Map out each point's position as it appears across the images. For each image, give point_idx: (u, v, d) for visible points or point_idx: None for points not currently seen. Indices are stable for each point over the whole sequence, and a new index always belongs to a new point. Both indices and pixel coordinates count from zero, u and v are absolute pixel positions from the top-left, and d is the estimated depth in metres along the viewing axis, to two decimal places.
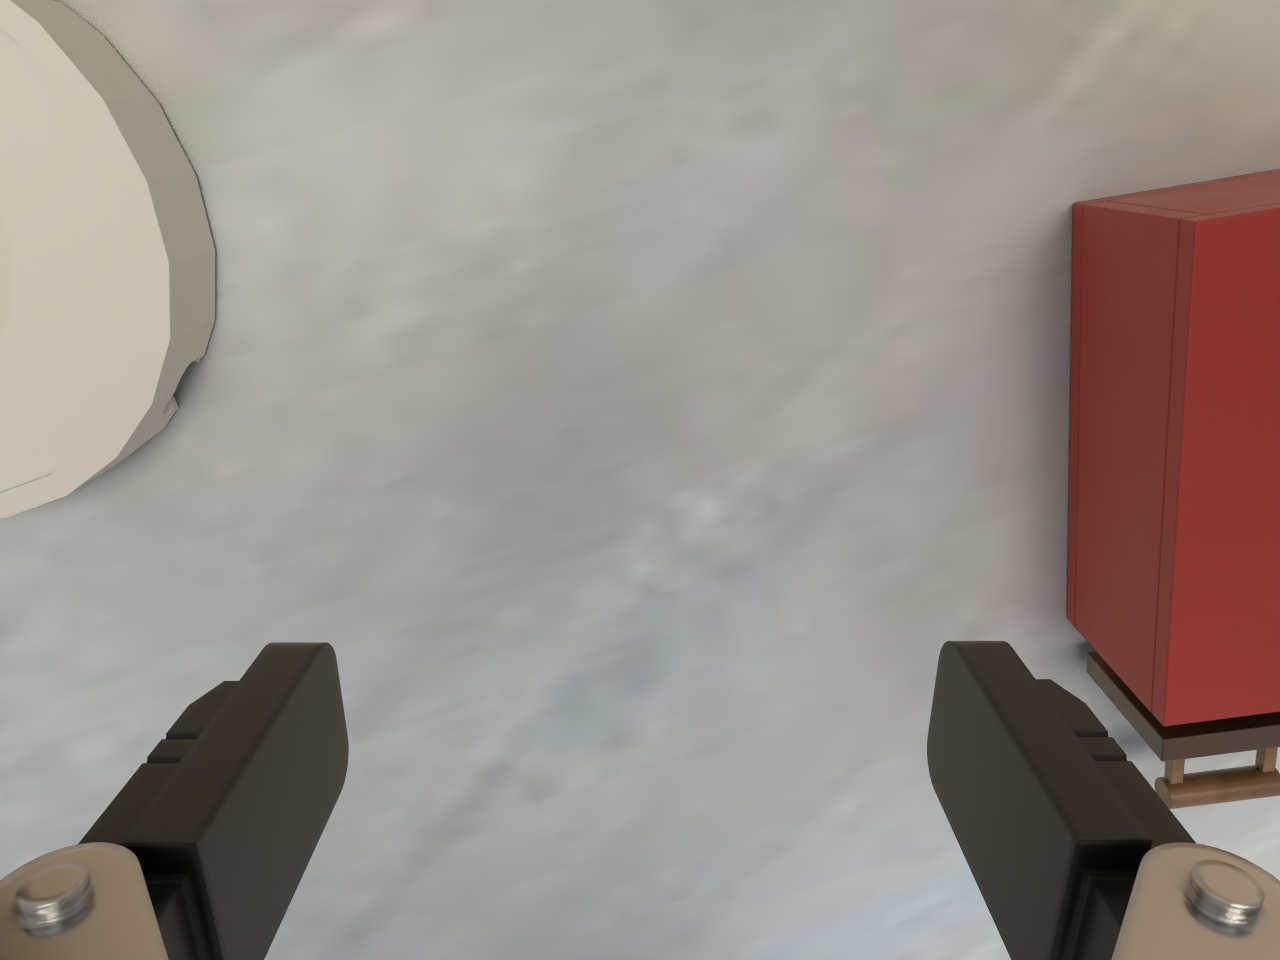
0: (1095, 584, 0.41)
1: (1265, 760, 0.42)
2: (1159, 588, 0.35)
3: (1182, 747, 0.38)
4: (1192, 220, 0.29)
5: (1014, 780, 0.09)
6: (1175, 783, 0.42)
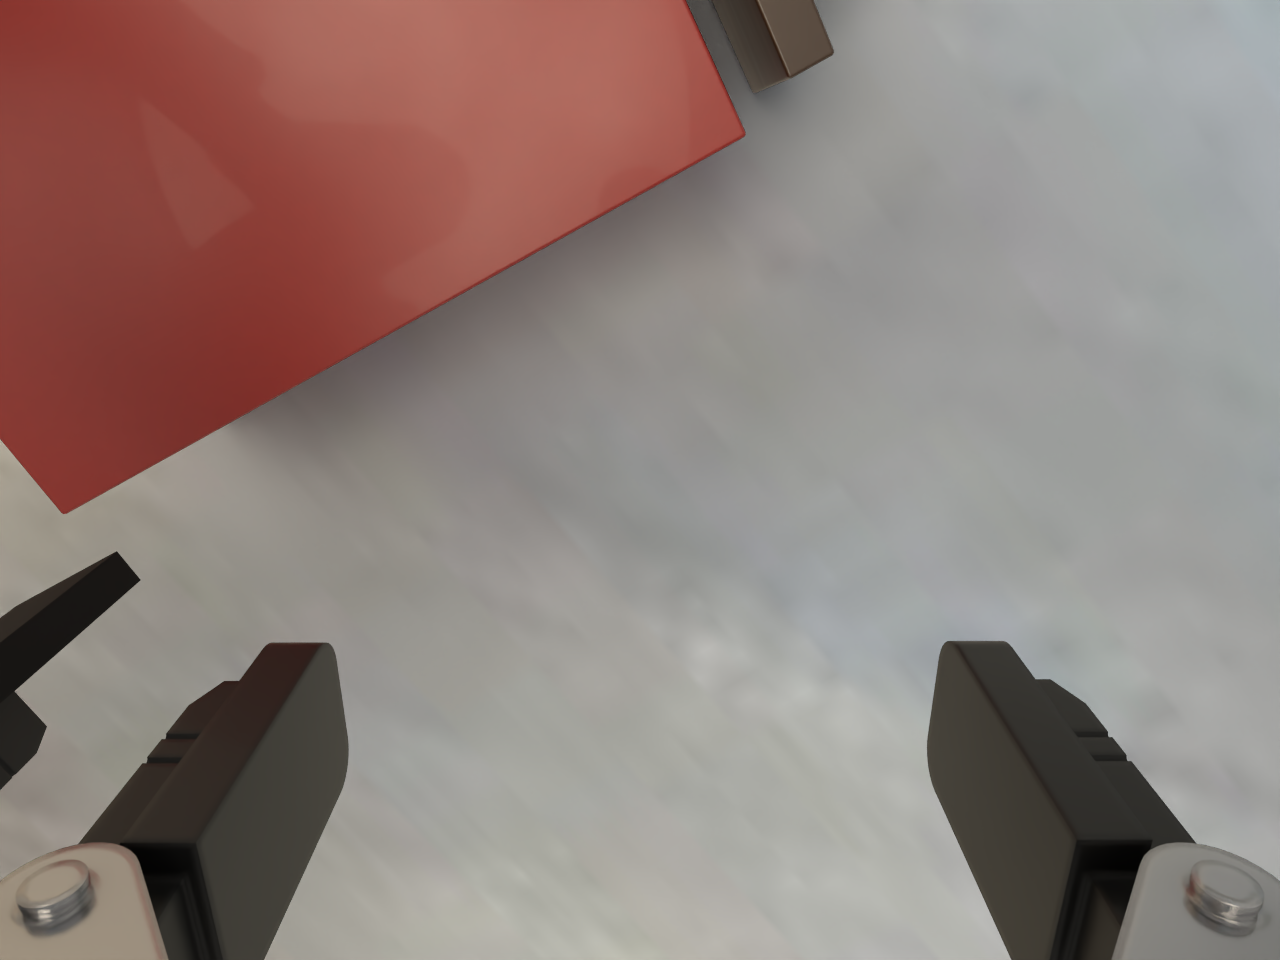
0: None
1: None
2: None
3: (795, 32, 0.20)
4: None
5: (1014, 780, 0.09)
6: None
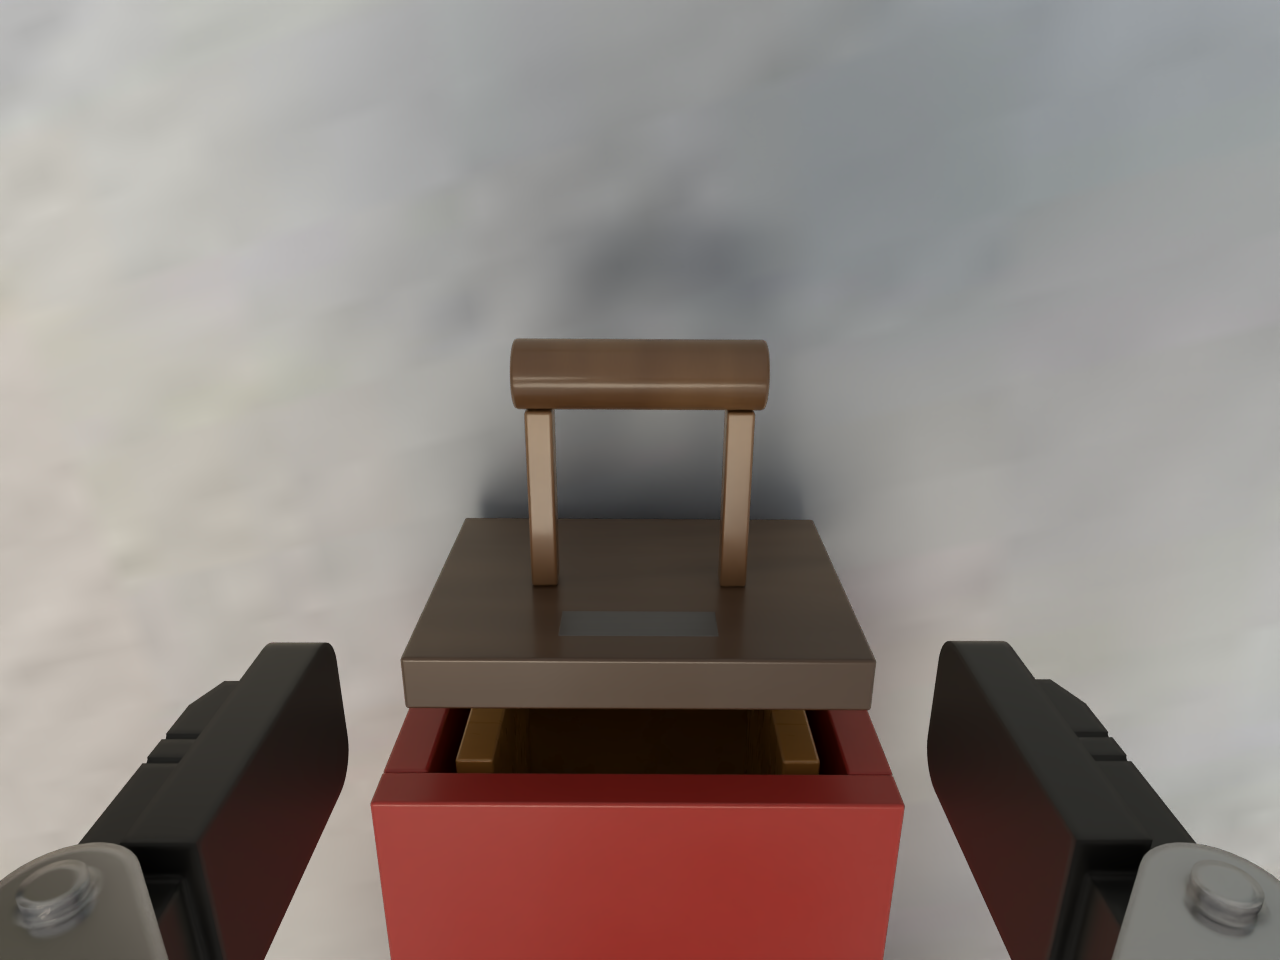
0: None
1: (547, 441, 0.19)
2: None
3: (831, 689, 0.18)
4: None
5: (1014, 780, 0.09)
6: (744, 415, 0.19)
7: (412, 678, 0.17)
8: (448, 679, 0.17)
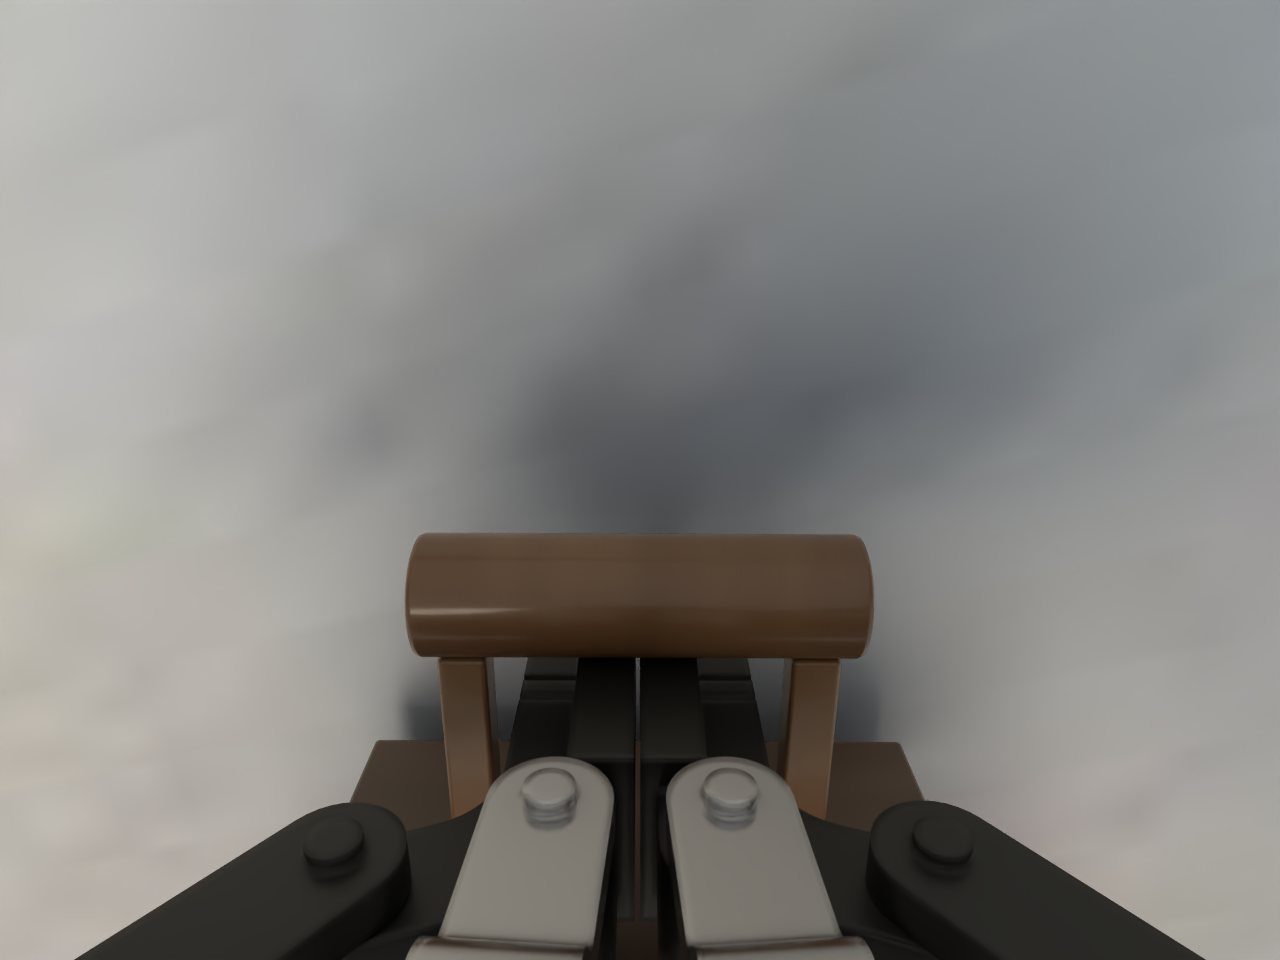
0: None
1: (479, 706, 0.11)
2: None
3: None
4: None
5: None
6: (823, 666, 0.11)
7: None
8: None
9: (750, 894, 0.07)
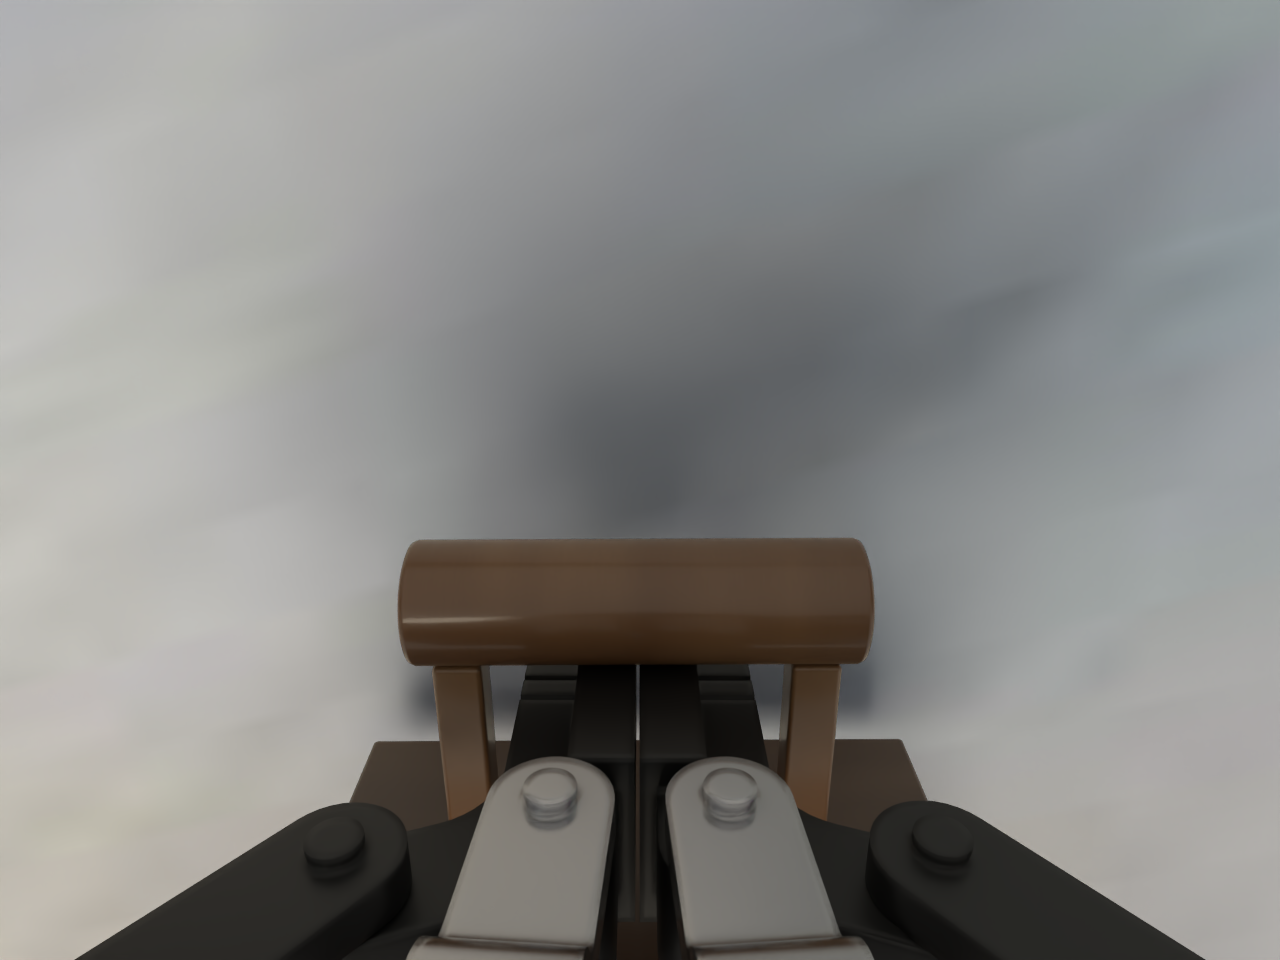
0: None
1: (475, 713, 0.11)
2: None
3: None
4: None
5: None
6: (823, 671, 0.10)
7: None
8: None
9: (749, 893, 0.07)
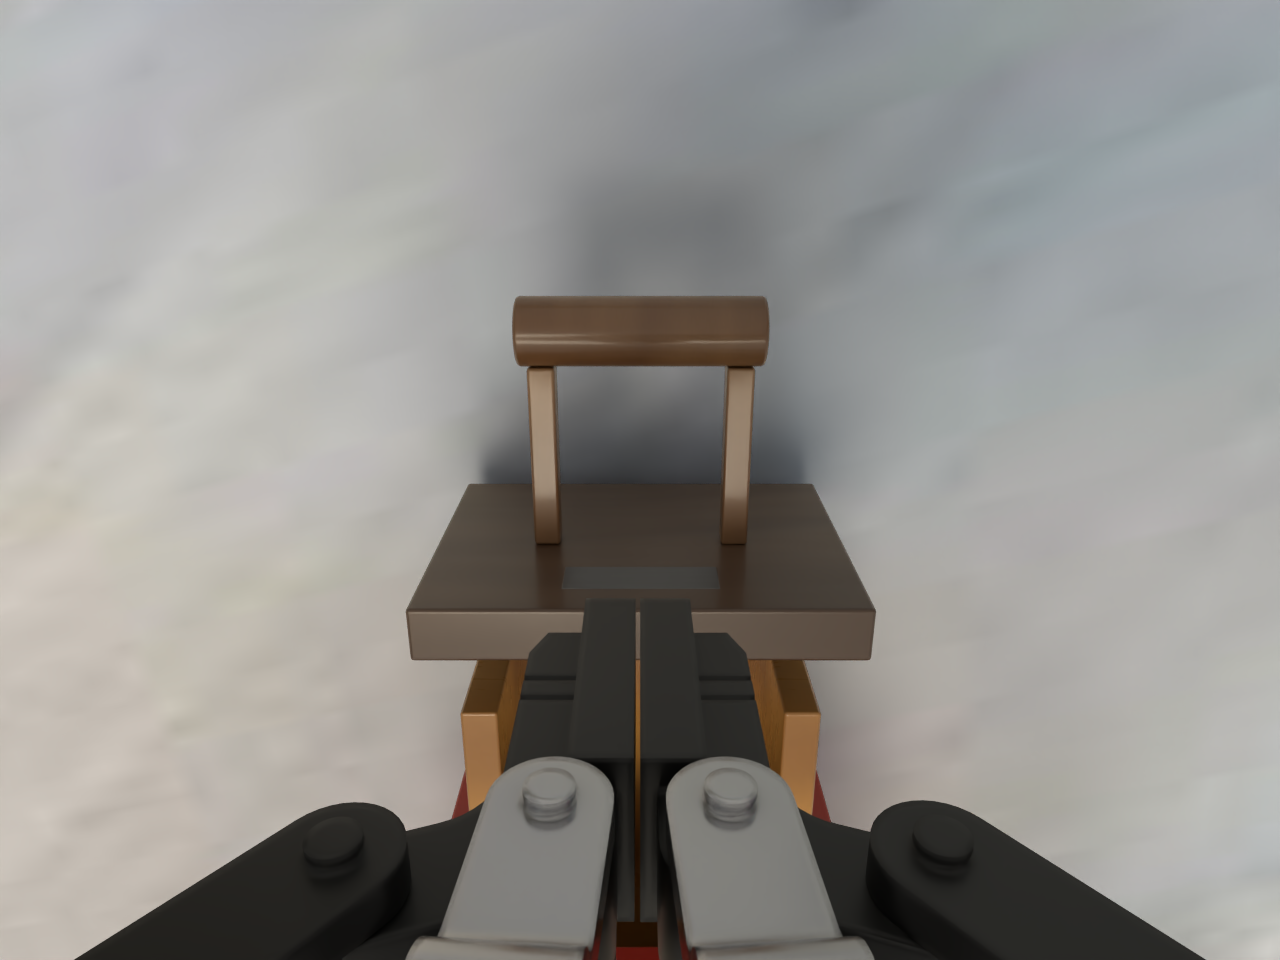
0: None
1: (550, 399, 0.19)
2: None
3: (832, 638, 0.18)
4: None
5: None
6: (744, 371, 0.19)
7: (417, 630, 0.18)
8: (453, 630, 0.18)
9: (750, 894, 0.07)
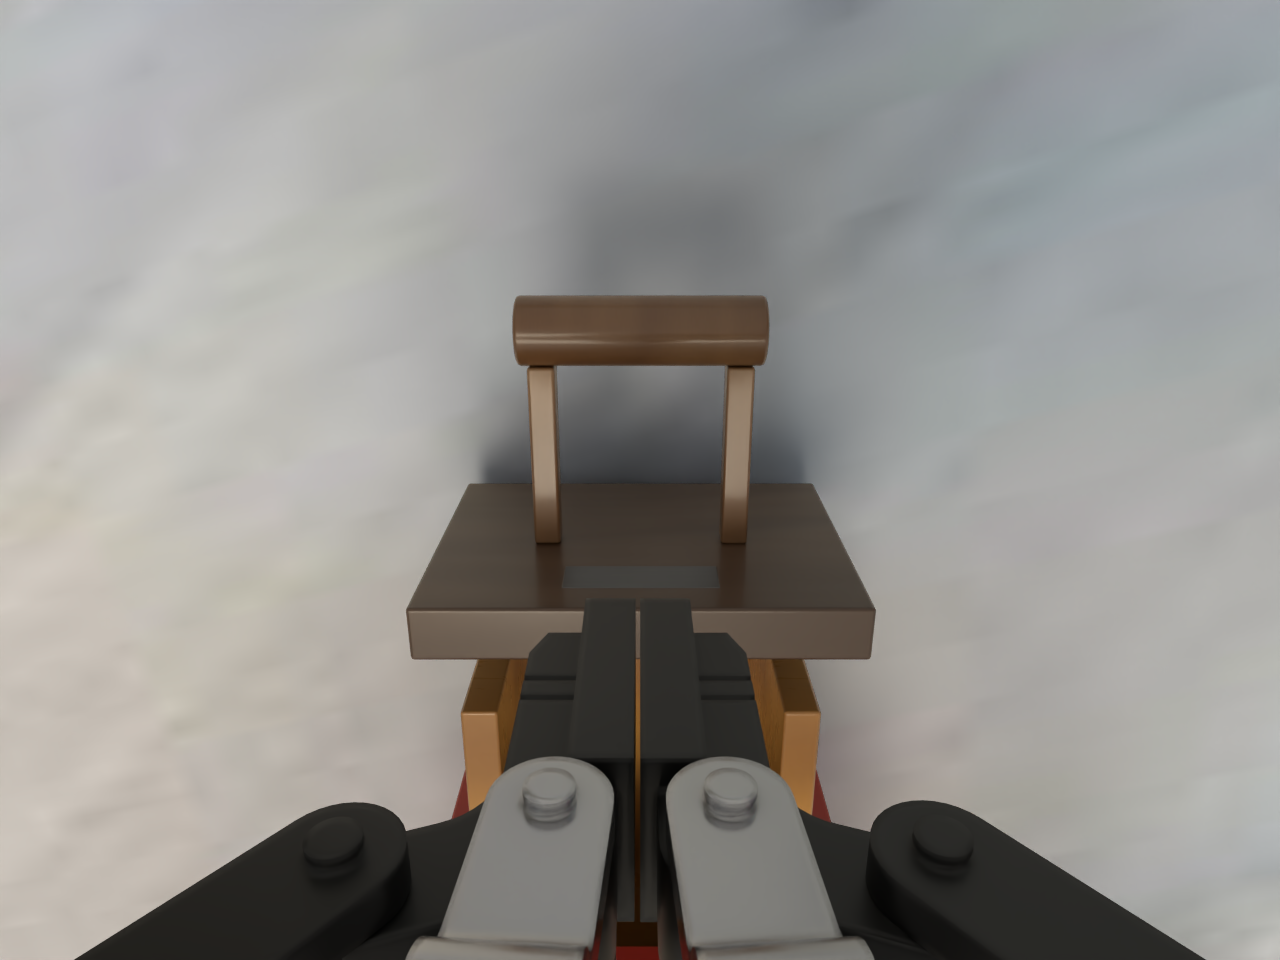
0: None
1: (550, 398, 0.19)
2: None
3: (832, 638, 0.18)
4: None
5: None
6: (744, 370, 0.19)
7: (417, 629, 0.18)
8: (453, 629, 0.18)
9: (750, 894, 0.07)
